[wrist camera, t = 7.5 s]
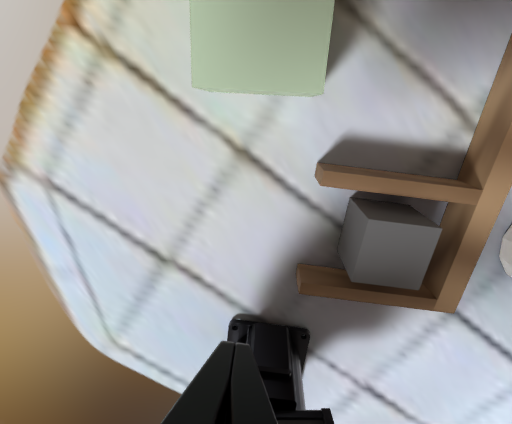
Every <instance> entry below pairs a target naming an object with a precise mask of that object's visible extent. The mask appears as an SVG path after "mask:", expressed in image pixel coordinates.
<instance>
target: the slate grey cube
mask: <svg viewBox="0 0 512 424" xmlns="http://www.w3.org/2000/svg"><path fill="white" fill-rule="evenodd" d="M441 232H442V228H441V227H440V226H438V225H437V224H435V223H434V222H433V221H431V220H430V219H428V218H427V217H426V216H424V215H423V214H421V213H420V212H419V211H417V210H416V209H414V208H413V207H412V206H410V205H406V204H398V203H390V202H382V201H374V200H366V199H358V198H350V199H349V203H348V207H347V211H346V215H345V219H344V223H343V227H342V231H341V235H340V240H339V244H338V248H337V251H338V254H339V256H340V258H341V260H342V262H343V265H344V267H345V269H346V271H347V273H348V276H349V278H350V280H351V282H358V283H365V284H373V285H381V286H389V287H397V288H404V289H412V290H419V289H420V286H421V284H422V281H423V279H424V276H425V273H426V271H427V268H428V265H429V263H430V260H431V258H432V255H433V252H434V250H435V247H436V245H437V242H438V239H439V237H440V234H441Z"/></svg>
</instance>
